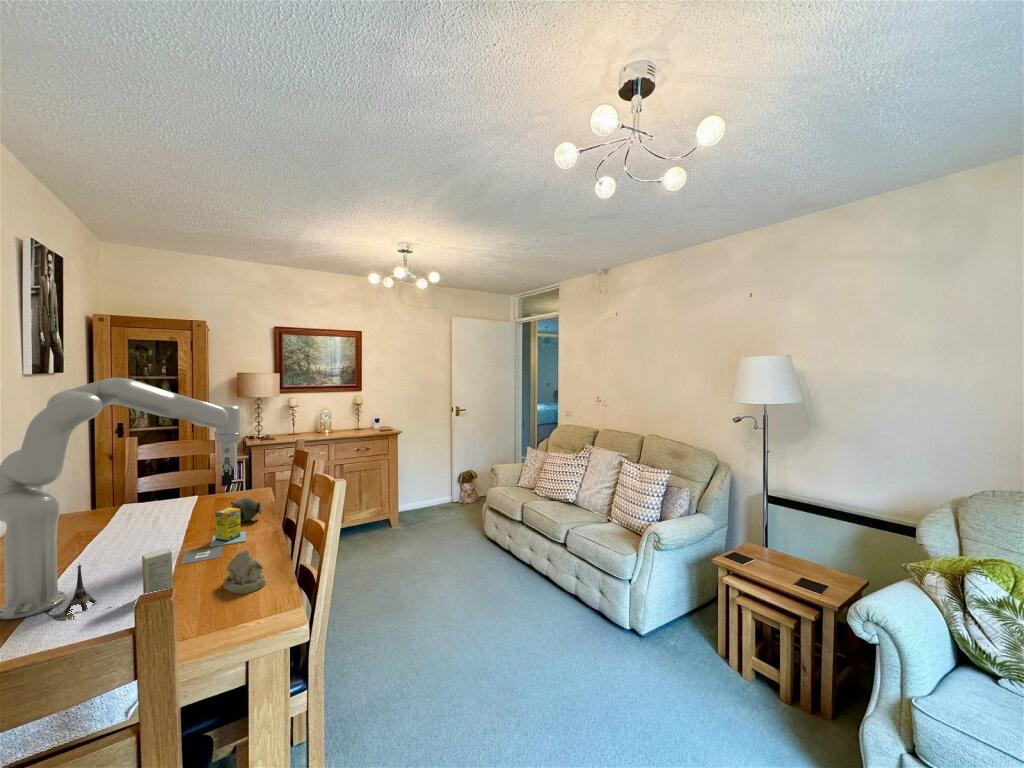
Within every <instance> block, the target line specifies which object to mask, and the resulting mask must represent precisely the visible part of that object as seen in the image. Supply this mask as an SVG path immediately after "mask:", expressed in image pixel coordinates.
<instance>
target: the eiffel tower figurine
mask: <svg viewBox="0 0 1024 768" xmlns="http://www.w3.org/2000/svg"><path fill="white" fill-rule="evenodd" d="M83 583H84V582H83V577H82V564H80V563H78V565H77V579H76V586H75V587H76V588H75V590H74V594H73V596H72V598H71V599H70V600H69V601H70V603H69V604H68V605H67V606H66V608H65V610H64V611H63V612H62V613H54V614H51V613H50V612H51V611H53V610H54V609H55V607H53V608H51V609H49V610H46V611H43V612H42V613H45V614H46V615H47V616H49V617H51V618H52V619H54V620H55V621H56V622H65V621H66V620H67V619H68V620H67V621H72V617H73V620H75V619H74V617H75V616H73V615H74V614H75V613H74V614H72V613H70V612H69V611H71V610H73V609H71V610H70V608H71V606H73V605H77V604H79V605H81V607H82V611H84V612H87V611H88V610H87V609H88V608H87V605H86V603H87V602H92V603H95V602H97V601H98V600H96V599H95V598H94V597H92V596H90V593H88V592H87V591H86V587H84V584H83ZM97 603H98V602H97ZM95 604H96V603H95ZM86 610H87V611H86ZM71 612H72V611H71ZM68 613H70V614H68ZM67 614H68V615H67ZM66 618H67V619H66ZM67 621H66V622H67Z"/></svg>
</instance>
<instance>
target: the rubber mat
mask: <svg viewBox="0 0 1024 768" xmlns="http://www.w3.org/2000/svg"><path fill="white" fill-rule="evenodd" d="M246 538H247V530H244V531H240V537H237V538H235V539H232V540H230V541H228V542H225V541H218V540H215V535H213V536H212V538H211V541H210V543H209V548H214V547H220V546H227V545H233V544H238V543H245V542H246Z"/></svg>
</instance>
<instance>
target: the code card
mask: <svg viewBox="0 0 1024 768" xmlns="http://www.w3.org/2000/svg"><path fill="white" fill-rule="evenodd" d="M223 546H224V545H222V546H216V547H208V548H202V549H196V550H190V551H185V552H184V555H183V557H182V560H181V562H180V565H186V564H192V563H196V562H197V563H198V562H203V561H209V560H215V559H220V558H221V556H222V551H223Z"/></svg>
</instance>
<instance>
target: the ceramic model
mask: <svg viewBox="0 0 1024 768" xmlns="http://www.w3.org/2000/svg"><path fill="white" fill-rule="evenodd" d="M263 569H264V565H263V564H262V563H261V561H259V560H257V559H256V558H255V557H254V556H253V555H251V554H250V552H249V550H244V551H240V552H238V553H237V555H236V556H235V557H234V558H233V559H231V561H230V562H229V563H228V565H227V567H226V571H228V576H227V577H226V578H224V579H223V586H222V588H223V589H224V590H226V591H230V592H231V593H233V594H234V593H235V594H243V595H244V594H249V593H251V592H255V591H257V590H259V589H260V588H263V587H264V586H265V585H266V584H267V578H266V576H265V575H264V573H263Z"/></svg>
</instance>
